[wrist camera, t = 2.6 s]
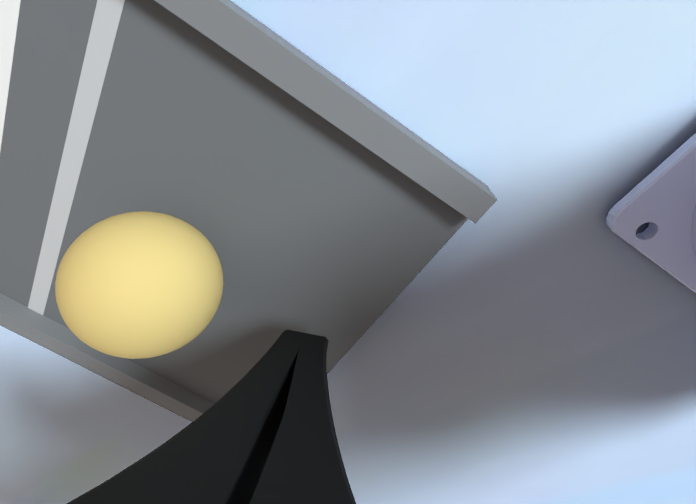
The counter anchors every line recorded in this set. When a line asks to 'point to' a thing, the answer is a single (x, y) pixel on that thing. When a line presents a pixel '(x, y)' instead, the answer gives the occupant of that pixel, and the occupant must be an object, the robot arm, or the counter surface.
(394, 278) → the lane
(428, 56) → the counter surface
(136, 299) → the ball
